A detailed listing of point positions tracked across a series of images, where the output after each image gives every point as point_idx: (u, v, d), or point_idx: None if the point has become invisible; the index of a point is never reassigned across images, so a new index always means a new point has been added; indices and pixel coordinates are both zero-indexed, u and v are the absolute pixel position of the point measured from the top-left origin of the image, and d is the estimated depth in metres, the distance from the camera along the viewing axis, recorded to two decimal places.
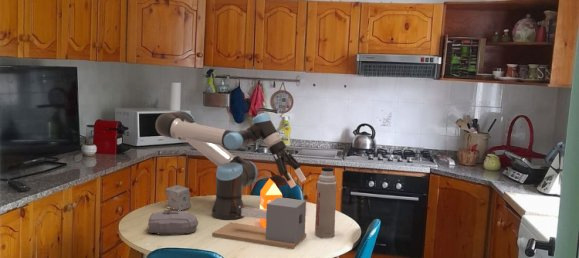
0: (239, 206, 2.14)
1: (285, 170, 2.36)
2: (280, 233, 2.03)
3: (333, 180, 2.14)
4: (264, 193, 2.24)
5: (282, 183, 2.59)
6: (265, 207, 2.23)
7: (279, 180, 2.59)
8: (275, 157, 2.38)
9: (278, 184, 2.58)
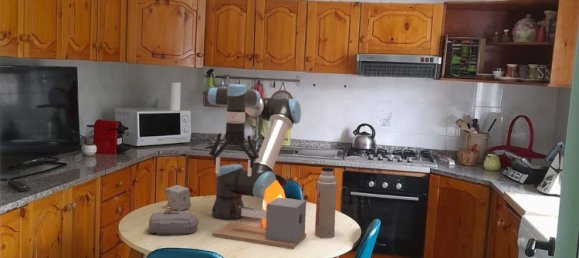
0: (239, 206, 2.14)
1: (214, 153, 2.16)
2: (280, 233, 2.03)
3: (333, 180, 2.14)
4: (268, 199, 2.17)
5: (282, 183, 2.59)
6: None
7: (279, 180, 2.59)
8: None
9: None
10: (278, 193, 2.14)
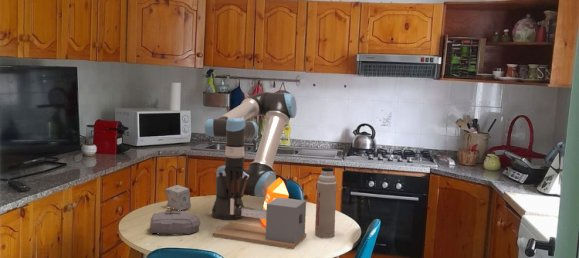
0: (239, 206, 2.14)
1: (228, 195, 2.15)
2: (280, 233, 2.03)
3: (333, 180, 2.14)
4: (271, 190, 2.25)
5: None
6: None
7: None
8: None
9: None
10: (281, 182, 2.24)
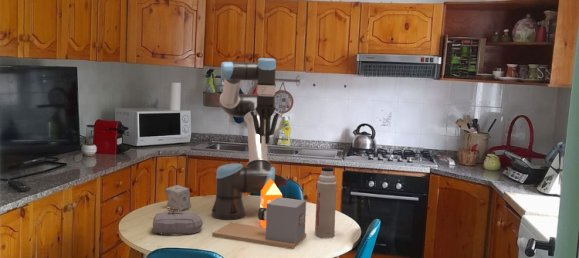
0: (262, 209, 2.10)
1: (259, 133, 2.23)
2: (280, 233, 2.03)
3: (333, 180, 2.14)
4: (264, 193, 2.24)
5: (282, 183, 2.59)
6: (265, 207, 2.23)
7: (279, 180, 2.59)
8: None
9: (278, 184, 2.58)
10: (272, 183, 2.24)
